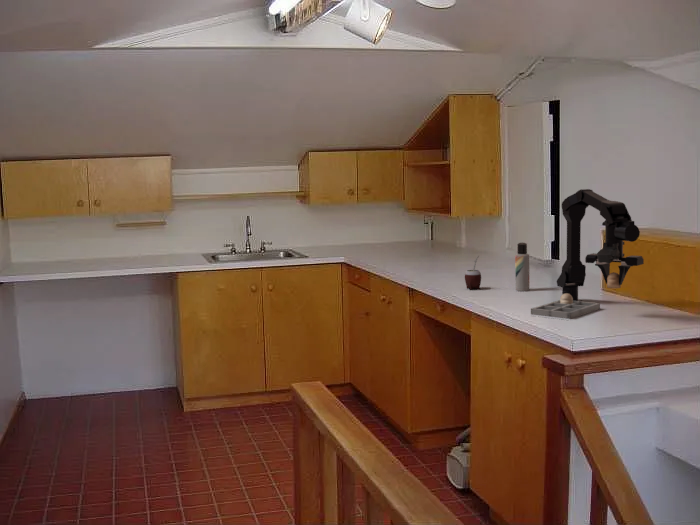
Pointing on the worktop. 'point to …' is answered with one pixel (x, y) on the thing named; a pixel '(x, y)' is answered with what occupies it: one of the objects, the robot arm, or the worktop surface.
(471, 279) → the mate gourd
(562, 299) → the beige rounded cylinder
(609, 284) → the brown egg
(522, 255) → the lotion bottle
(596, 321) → the worktop surface
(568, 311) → the grey egg tray
